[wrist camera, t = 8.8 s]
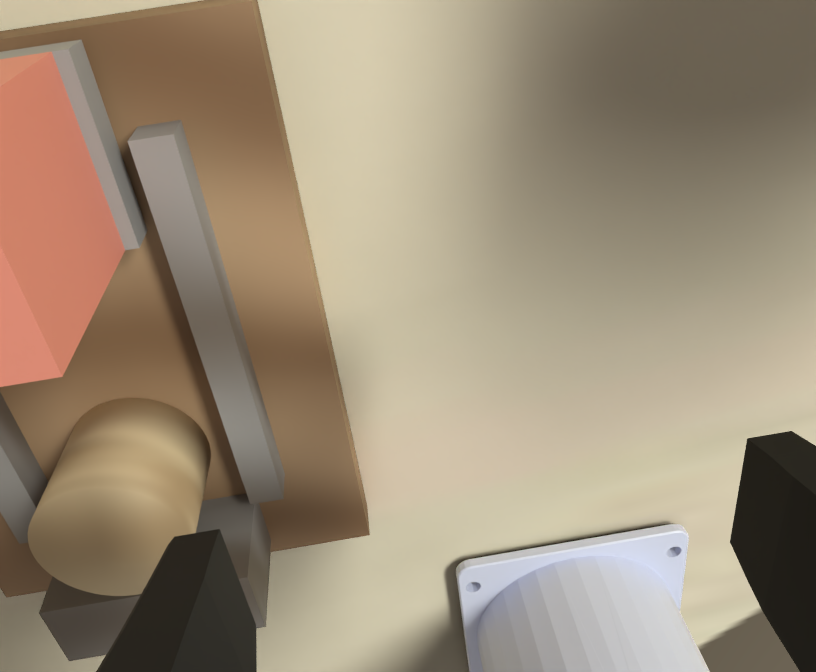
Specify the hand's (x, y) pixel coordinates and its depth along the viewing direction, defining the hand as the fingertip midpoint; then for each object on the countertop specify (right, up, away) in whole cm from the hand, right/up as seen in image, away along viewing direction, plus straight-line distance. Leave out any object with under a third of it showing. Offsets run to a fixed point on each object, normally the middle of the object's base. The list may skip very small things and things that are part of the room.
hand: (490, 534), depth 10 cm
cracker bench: (-9, +3, +9) cm, 13 cm away
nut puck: (-8, 0, +9) cm, 13 cm away
